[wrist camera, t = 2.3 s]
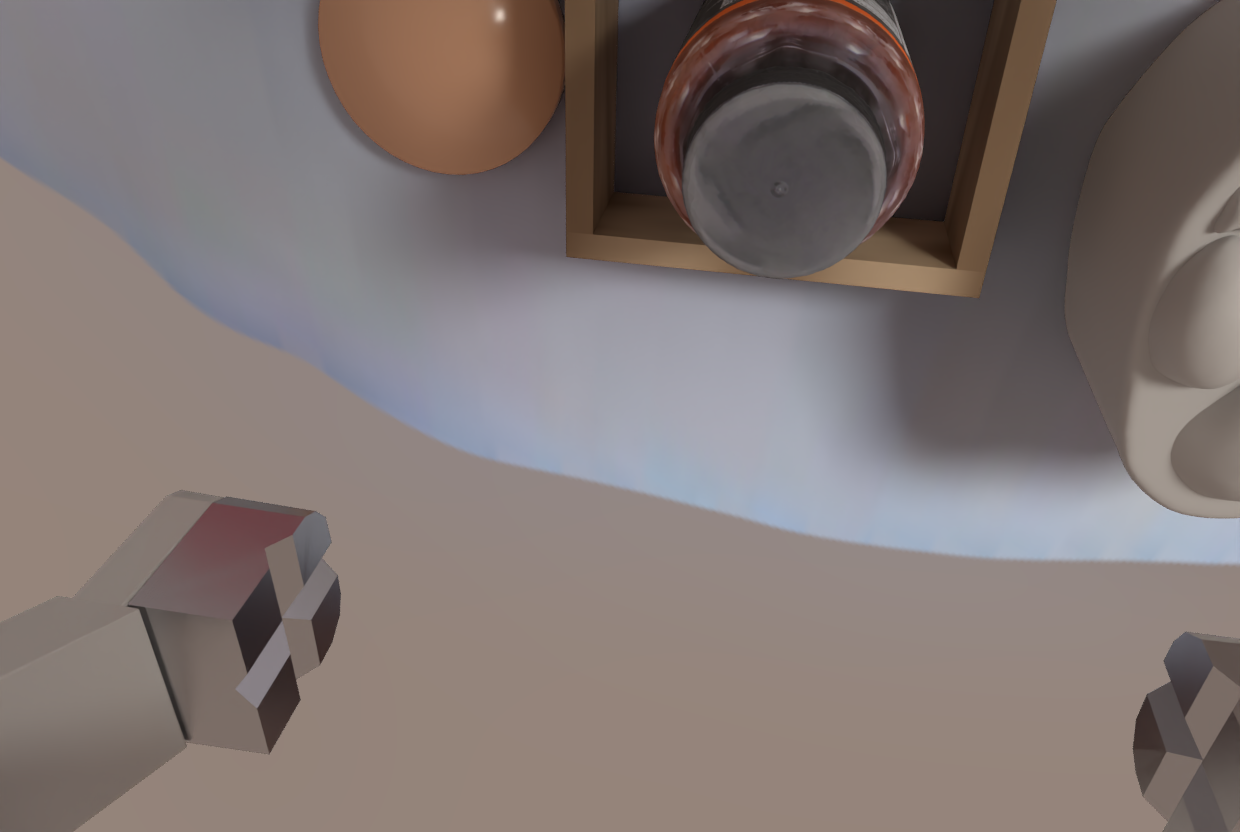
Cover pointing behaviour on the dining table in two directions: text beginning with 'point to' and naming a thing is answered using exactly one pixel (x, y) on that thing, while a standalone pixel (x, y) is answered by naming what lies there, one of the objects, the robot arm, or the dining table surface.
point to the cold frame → (885, 260)
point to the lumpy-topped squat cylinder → (1168, 272)
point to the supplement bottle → (789, 130)
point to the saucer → (446, 75)
